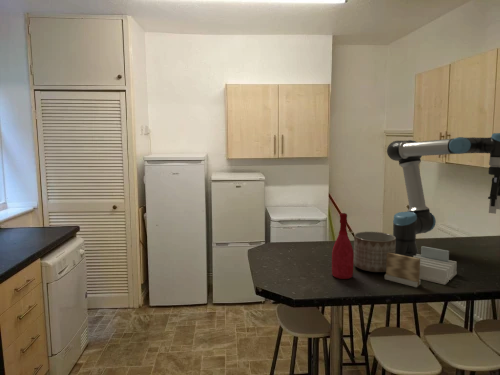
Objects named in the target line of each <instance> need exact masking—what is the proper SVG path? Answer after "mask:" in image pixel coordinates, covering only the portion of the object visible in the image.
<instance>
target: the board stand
mask: <svg viewBox="0 0 500 375" xmlns="http://www.w3.org/2000/svg"><path fill="white" fill-rule="evenodd" d="M384 280H387V281H390V282H395V283H399V284H401V285H402V284H403V285H405V286H410V287H414V288H418V287H419V286H421V279H419V286H418V282H415V281H411V280H407V279H403V278H399V277H395V276H391V275H387V274H386V273H385V274H384Z"/></svg>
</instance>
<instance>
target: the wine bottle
mask: <svg viewBox="0 0 500 375" xmlns="http://www.w3.org/2000/svg"><path fill="white" fill-rule="evenodd" d="M347 223H348V214H347V213H345V212H342V213H341V212H340V213H339V224H340V228H339V232H338V234H337V235H338V236H337V237H336V240H335V241H334V245H333V247H332V250H331V275H332V276H333V277H334V278H336V279H340V280H348V279H351V278H353V275H354V247H353V245H352V243H351V240H350V237H349V235H348V234H349V233H348V231H347Z"/></svg>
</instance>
